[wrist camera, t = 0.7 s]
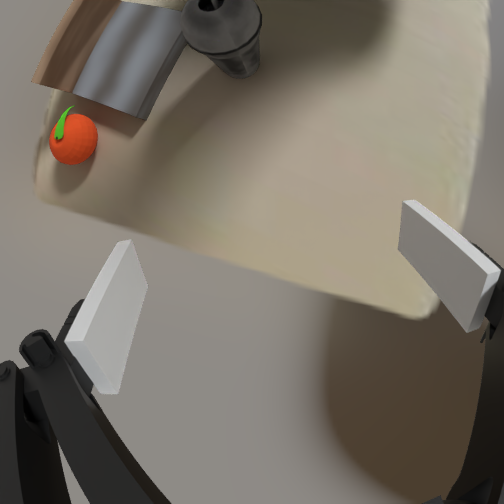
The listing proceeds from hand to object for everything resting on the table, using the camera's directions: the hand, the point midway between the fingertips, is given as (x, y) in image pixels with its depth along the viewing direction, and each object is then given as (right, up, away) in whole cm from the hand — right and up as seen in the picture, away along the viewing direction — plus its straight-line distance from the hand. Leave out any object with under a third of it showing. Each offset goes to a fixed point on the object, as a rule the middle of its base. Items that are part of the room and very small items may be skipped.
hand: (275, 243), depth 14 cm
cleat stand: (-17, +26, +20) cm, 36 cm away
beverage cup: (-2, +23, +19) cm, 29 cm away
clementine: (-24, +16, +23) cm, 37 cm away
